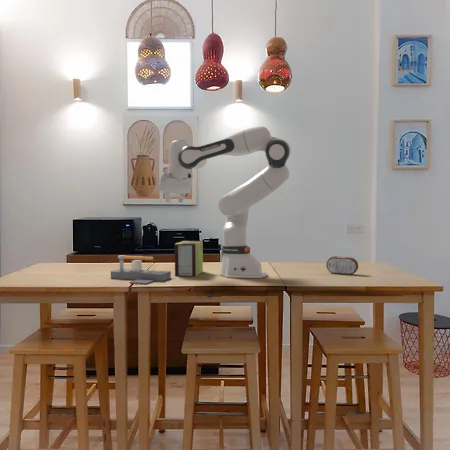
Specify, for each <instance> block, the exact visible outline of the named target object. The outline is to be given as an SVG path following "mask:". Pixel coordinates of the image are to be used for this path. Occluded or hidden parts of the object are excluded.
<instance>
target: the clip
mask: <svg viewBox="0 0 450 450" xmlns="http://www.w3.org/2000/svg"><path fill="white" fill-rule="evenodd" d="M117 259H119V260H120V259H124V260H125V259H126V260H141V261H142V260H146V261H152V260H154V257H153V256H141V255H124V254H123V255H118V256H117Z"/></svg>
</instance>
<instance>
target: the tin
mask: <svg viewBox="0 0 450 450" xmlns="http://www.w3.org/2000/svg"><path fill="white" fill-rule="evenodd" d="M326 269H327V271H328V272H329V273H331V274H334V273H335V275H348V276H351V275H354V274H355V273H356V272H357V271H358V269H359V263H358V261H357V260H356V259H355V258H353V257H351V256H338V255H337V256H336V255H334V256H331V257H329V258H328V259H327V261H326Z"/></svg>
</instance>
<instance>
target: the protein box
mask: <svg viewBox="0 0 450 450" xmlns="http://www.w3.org/2000/svg"><path fill="white" fill-rule="evenodd" d="M203 245H204V244H203V240H201V241H200V240H182V241H179V242H176V243H174V276H175V277H197V276H198V275H200V274H202V273H203V271H204V270H203V269H204V268H203V267H204V265H203V264H204V259H203V258H204V256H203V255H204V253H203V250H204V249H203Z"/></svg>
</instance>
